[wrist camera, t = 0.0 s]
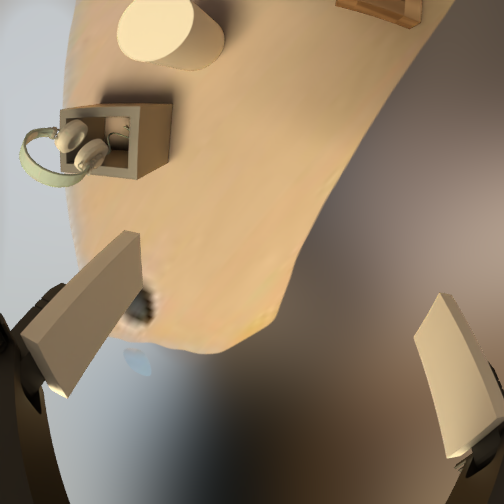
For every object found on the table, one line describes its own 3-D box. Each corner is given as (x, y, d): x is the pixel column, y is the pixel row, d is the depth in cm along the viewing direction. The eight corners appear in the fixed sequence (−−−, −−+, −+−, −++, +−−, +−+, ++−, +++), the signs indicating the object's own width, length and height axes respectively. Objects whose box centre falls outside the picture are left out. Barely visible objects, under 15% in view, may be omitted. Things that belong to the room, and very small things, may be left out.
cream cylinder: (186, 8, 27) (145, -20, 17) (236, 31, 29) (210, 3, 18) (154, 56, 31) (104, 46, 21) (202, 81, 32) (162, 74, 22)
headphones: (158, 138, 37) (59, 176, 19) (143, 158, 39) (46, 209, 21) (120, 104, 35) (13, 124, 17) (107, 125, 36) (2, 157, 19)
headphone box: (99, 103, 35) (60, 109, 27) (172, 104, 34) (140, 106, 26) (98, 156, 39) (60, 171, 31) (168, 162, 38) (136, 179, 31)
